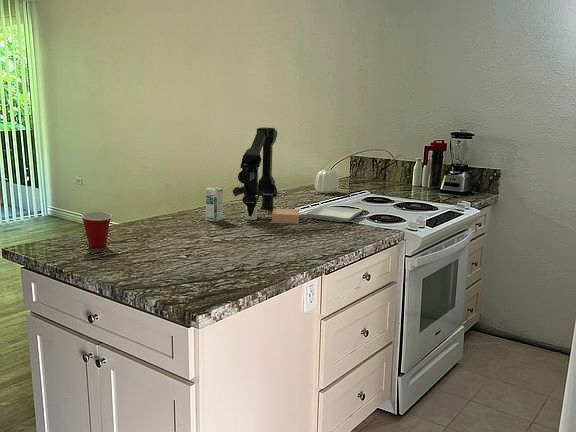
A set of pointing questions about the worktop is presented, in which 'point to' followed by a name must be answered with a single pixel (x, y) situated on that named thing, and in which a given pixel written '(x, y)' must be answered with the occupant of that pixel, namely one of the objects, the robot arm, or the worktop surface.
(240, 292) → the worktop surface
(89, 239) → the plastic cup
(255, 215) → the block
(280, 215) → the stand
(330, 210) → the salad plate
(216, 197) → the syrup box
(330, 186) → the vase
